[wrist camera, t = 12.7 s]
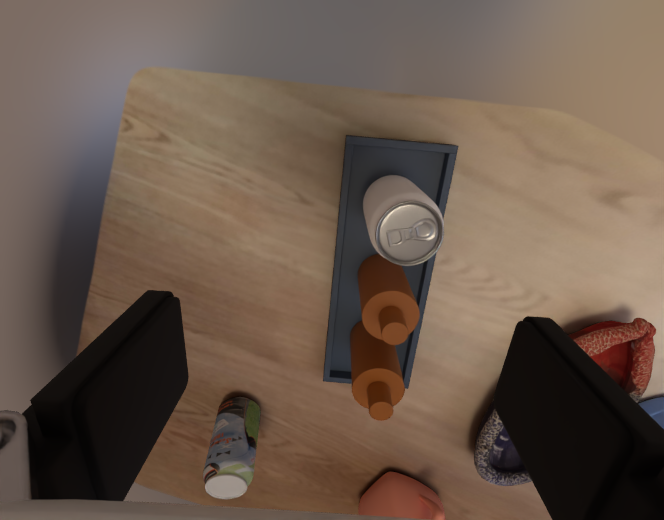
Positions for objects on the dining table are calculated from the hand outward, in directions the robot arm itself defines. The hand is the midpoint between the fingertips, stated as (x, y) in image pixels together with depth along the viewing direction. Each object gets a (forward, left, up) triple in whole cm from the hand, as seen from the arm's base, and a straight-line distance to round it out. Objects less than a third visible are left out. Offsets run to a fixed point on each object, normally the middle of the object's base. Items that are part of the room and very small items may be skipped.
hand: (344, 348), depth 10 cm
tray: (+11, +6, -32) cm, 35 cm away
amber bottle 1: (+11, +6, -32) cm, 34 cm away
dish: (+27, +32, -33) cm, 53 cm away
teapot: (+51, +14, -33) cm, 62 cm away
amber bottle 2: (+20, +6, -32) cm, 38 cm away
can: (+2, +6, -32) cm, 33 cm away
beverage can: (+35, -11, -33) cm, 49 cm away
